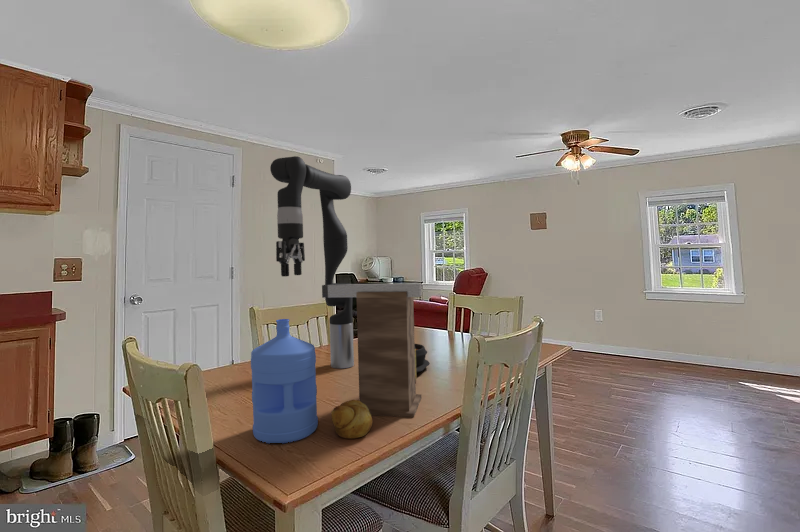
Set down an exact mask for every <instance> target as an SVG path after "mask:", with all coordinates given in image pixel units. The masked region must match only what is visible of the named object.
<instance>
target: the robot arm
mask: <svg viewBox="0 0 800 532" xmlns="http://www.w3.org/2000/svg"><path fill="white" fill-rule="evenodd" d="M269 167H270V174H271V175H272V177H273V179H275V180H276V181H278V182H281V183H283V184H287V185H286V186H285V187H282V188H280V189H278V191H277V214H276V215H277V217H276V219H277V238H278V239H281V240H278V241H275V242H276V243H275V244H276V246H275V247H276V248H275V249H276V250H275V255H276V258H275V261H276V262H278V263H279V264H280V275H281V277H289V276H290V264H289V263H290V260H291V259H292V261H293V271H294V272H293V275H294V276H301V275H302V274H303V273H302V263H303V262H305V259H306V257H305V253H306V252H305V243H304V242H300V241H299V240H300V239H303V238H304V221H303V220H304V219H303V211H302V210H303V209H302V193H303V189H304V188H307V189H313V190H319V198H320V206H321V213H322V229H323V231H322V232H323V234H322V235H323V237H322V239H323V255H324V269H325V270H324V274H325V275H324V285H326V284H351V283H349V282H335V283H334V277H335V275H336V273H337V270H338V268H339V267H340V265H341V263H342V262H343V260H344V259H345V257H346V255H347V253H348V234H347V233H348V232H347V231H346V229H345V226H344V224H343V223H342V222H341V220H340V219H339V217H338V215H337V213H336V211H335V205H334V201H337V200H338V201H341V200H345V199H347V198H350V196H351V193H352V184H351V180H350V179H349V177H347V176H345V175H343V174H333V173H329V172H326V171H324V170H321V169H319V168H316V167H314V166H311V165H308V164H306V163H305V160H304V159H303V158H301V157H300V156H296V155H294V156H287V157H285V156H284V157H278V158H275V159H274V160H273V161H272V162H271V163H270V166H269ZM353 298H354V297H331V298H324V299H325V300H324V301H325V303H326V306H328V307H344V308H343V309H342V310H341V311H340V312H337V313H335V314H332V315H331V316H330V317H329V344H330V345H329V348H330V350H329V351H330V367H331V368H333V369H348V368H352V367H354V365H355V357H354V356H355V355H354V354H355V353H354V321H353V320H354V319H353V316H354V315H353V300H354V299H353Z"/></svg>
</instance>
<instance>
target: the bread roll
mask: <svg viewBox="0 0 800 532" xmlns="http://www.w3.org/2000/svg"><path fill="white" fill-rule="evenodd" d="M330 416H331V421H332V424H333V426H334V430H335V431H334V432H335V433H336V434H337V435H338V436H339V437H341V438H343V439H357V438H361V437H364V436H366V435H367V434H368V432H370V430H371V428H372V426H373V418H372V416H373V415H371V414H370V411H369V409H368V407H367V406H366V405H365V404H363V403H362V402H360V401H359V399H358V400H357V399H351V400H347V401H344V402H342V403H341V404H340V405H337V406H335V407H334V408H332V410H331V413H330Z"/></svg>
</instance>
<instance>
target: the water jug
mask: <svg viewBox="0 0 800 532" xmlns="http://www.w3.org/2000/svg"><path fill="white" fill-rule="evenodd" d="M275 322H276V327H275V329H276V336H274V337H273V338H271V339H269V340H268V341H266V342H264V343H263V344H261V345H258V346H257V347H255V348H254V349H252V351H251V352H250V355H251V356H250V369H251V389H252V391H251V401H252V402H251V403H252V413H253V414H252V416H253V420H252V421H253V422H252V423H253V424H252V434H253V436H254V438H255V439H256V440H258V441H259V442H261V441H262V442H261V443H264V442H266V443H265V444H270V443H282V444H289V443H293V441H294V442H298V441H300V440H302V439H306V438H307V437H309V436H310V435H312V434H313V433H314V432H316V430H317V428H318V423H319V419H318V406H317V404H318V403H317V394H318V389H317V387H318V386H317V376H316V375H317V372H316V363H317V355H316V349H315V348H316V347H315V345H314V344H313V343H311V342H307V341H305V340H302V339H300V338H298V337H294V336H292V335H291V334H290V329H291V328H290V327H291V326H290V324H289V323H290V319H289V318H281V319H276V320H275ZM288 442H289V443H288Z"/></svg>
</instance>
